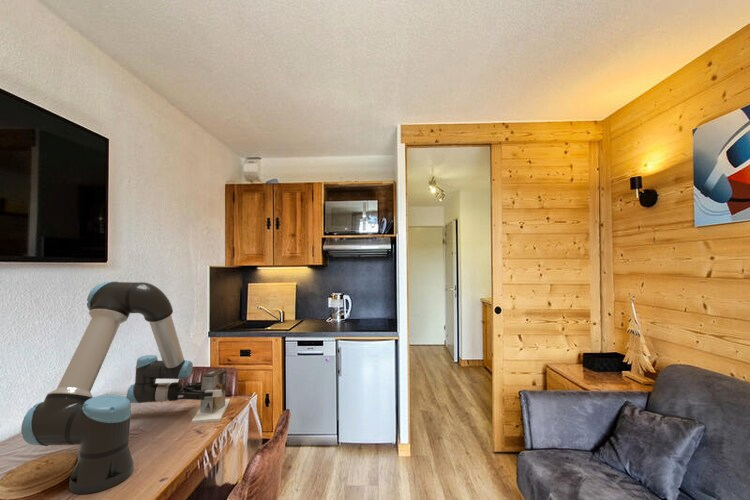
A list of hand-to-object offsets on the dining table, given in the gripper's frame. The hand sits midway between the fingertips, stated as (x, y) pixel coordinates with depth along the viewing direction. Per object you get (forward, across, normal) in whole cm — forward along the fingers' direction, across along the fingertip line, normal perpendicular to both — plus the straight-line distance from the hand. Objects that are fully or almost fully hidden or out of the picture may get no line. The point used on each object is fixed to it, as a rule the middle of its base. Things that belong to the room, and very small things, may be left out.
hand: (223, 388), depth 151 cm
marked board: (-4, 0, -10) cm, 11 cm away
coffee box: (-4, 0, -9) cm, 10 cm away
